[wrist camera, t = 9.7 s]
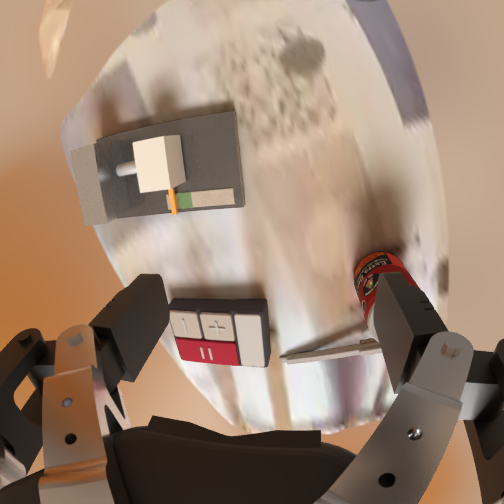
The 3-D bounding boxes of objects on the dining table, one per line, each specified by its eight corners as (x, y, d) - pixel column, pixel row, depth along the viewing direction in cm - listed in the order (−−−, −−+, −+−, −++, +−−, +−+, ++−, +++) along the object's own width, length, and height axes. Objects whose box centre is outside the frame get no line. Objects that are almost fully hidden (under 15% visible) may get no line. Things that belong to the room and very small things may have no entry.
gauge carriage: (126, 145, 35) (105, 149, 30) (180, 134, 34) (163, 136, 29) (137, 216, 39) (119, 228, 34) (190, 211, 37) (176, 223, 33)
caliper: (397, 320, 42) (408, 345, 36) (398, 325, 42) (408, 350, 37) (279, 356, 47) (276, 383, 42) (281, 360, 48) (279, 387, 42)
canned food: (377, 239, 37) (403, 276, 27) (413, 271, 38) (442, 313, 28) (341, 279, 40) (353, 326, 30) (378, 307, 41) (396, 355, 31)
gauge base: (102, 138, 37) (69, 143, 30) (235, 111, 33) (221, 107, 27) (115, 216, 41) (86, 233, 34) (245, 204, 38) (234, 221, 31)
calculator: (163, 309, 42) (262, 314, 39) (174, 295, 46) (267, 298, 43) (179, 362, 47) (267, 371, 43) (187, 347, 50) (271, 353, 47)
